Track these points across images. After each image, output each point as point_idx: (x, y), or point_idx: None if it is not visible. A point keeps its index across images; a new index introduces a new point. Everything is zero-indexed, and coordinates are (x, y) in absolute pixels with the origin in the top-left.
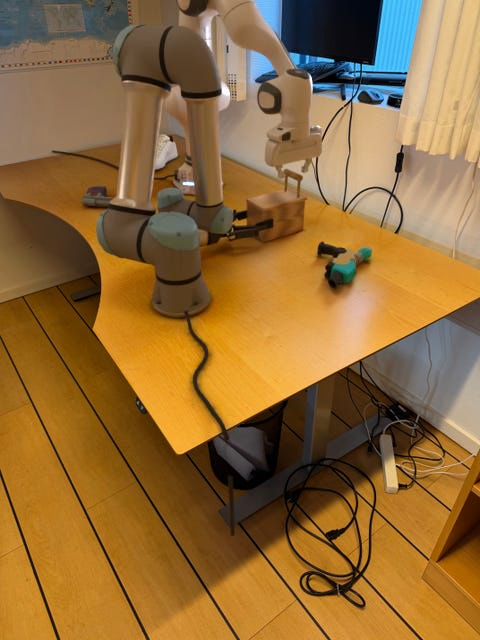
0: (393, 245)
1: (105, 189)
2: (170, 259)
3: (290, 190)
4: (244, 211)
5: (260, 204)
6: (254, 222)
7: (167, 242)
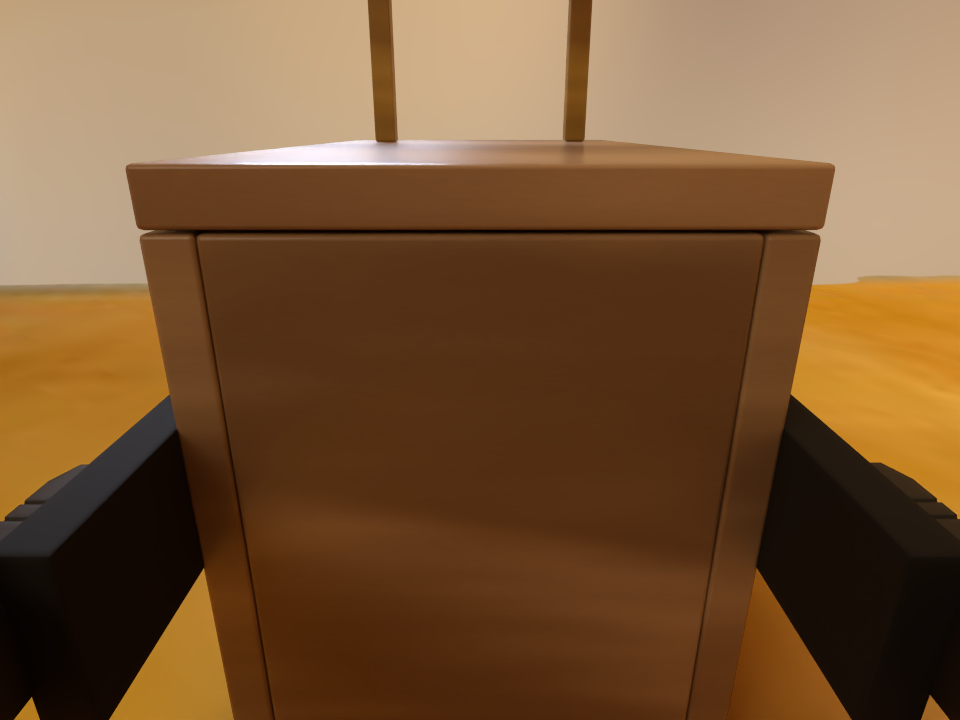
0: (897, 305)
1: None
2: None
3: (403, 140)
4: (152, 456)
5: (571, 158)
6: (476, 549)
7: None
